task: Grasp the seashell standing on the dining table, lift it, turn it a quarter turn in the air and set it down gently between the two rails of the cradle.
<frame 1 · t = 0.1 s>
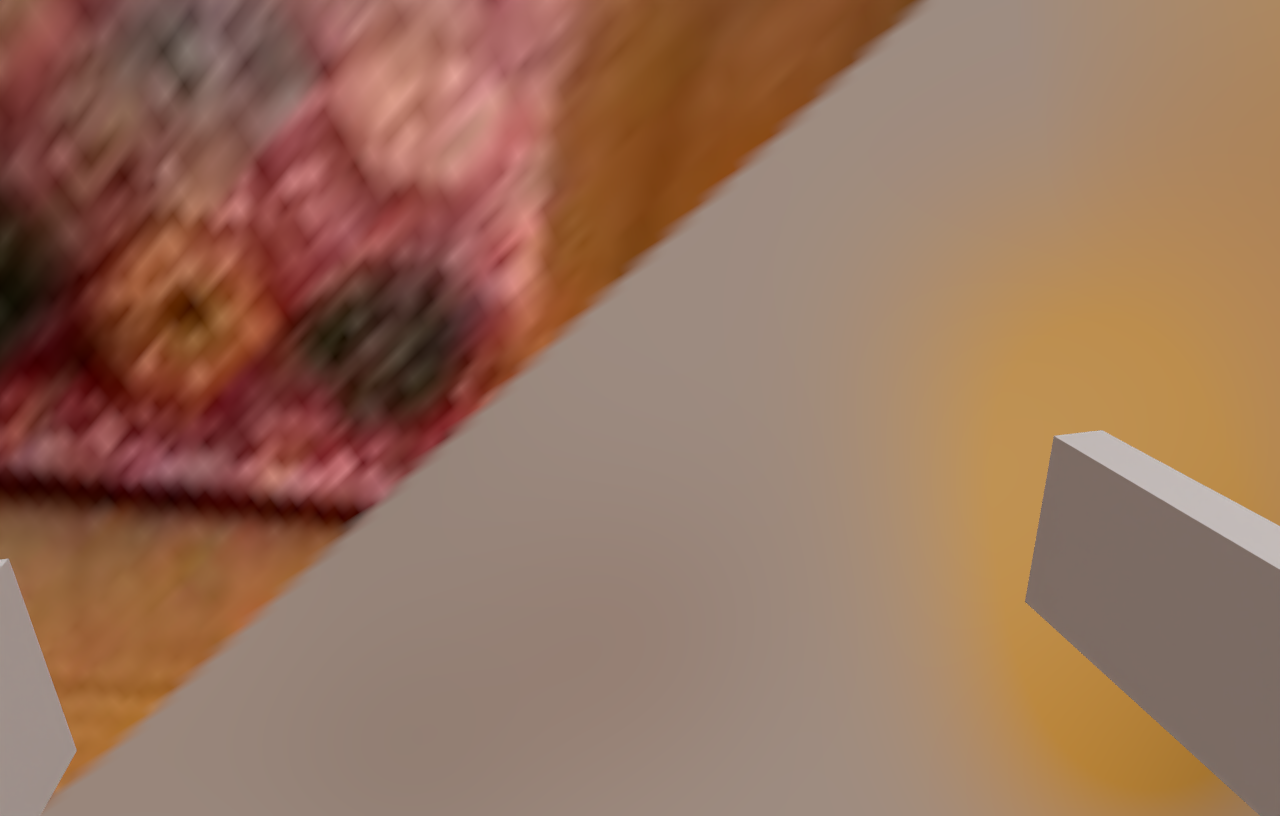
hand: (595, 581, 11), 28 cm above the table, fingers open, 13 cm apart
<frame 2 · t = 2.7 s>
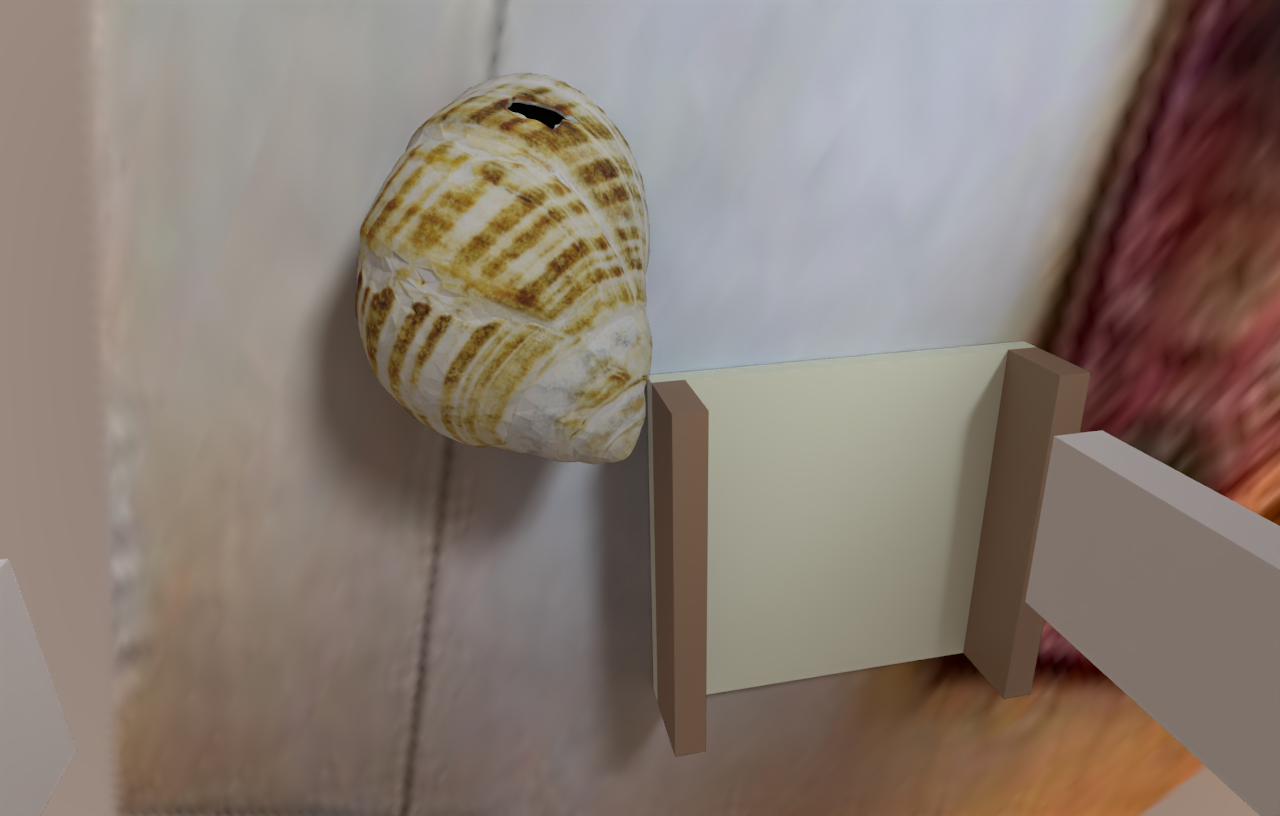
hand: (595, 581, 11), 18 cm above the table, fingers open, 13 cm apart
seashell: (516, 262, 28), on the table
cradle: (831, 521, 34), on the table
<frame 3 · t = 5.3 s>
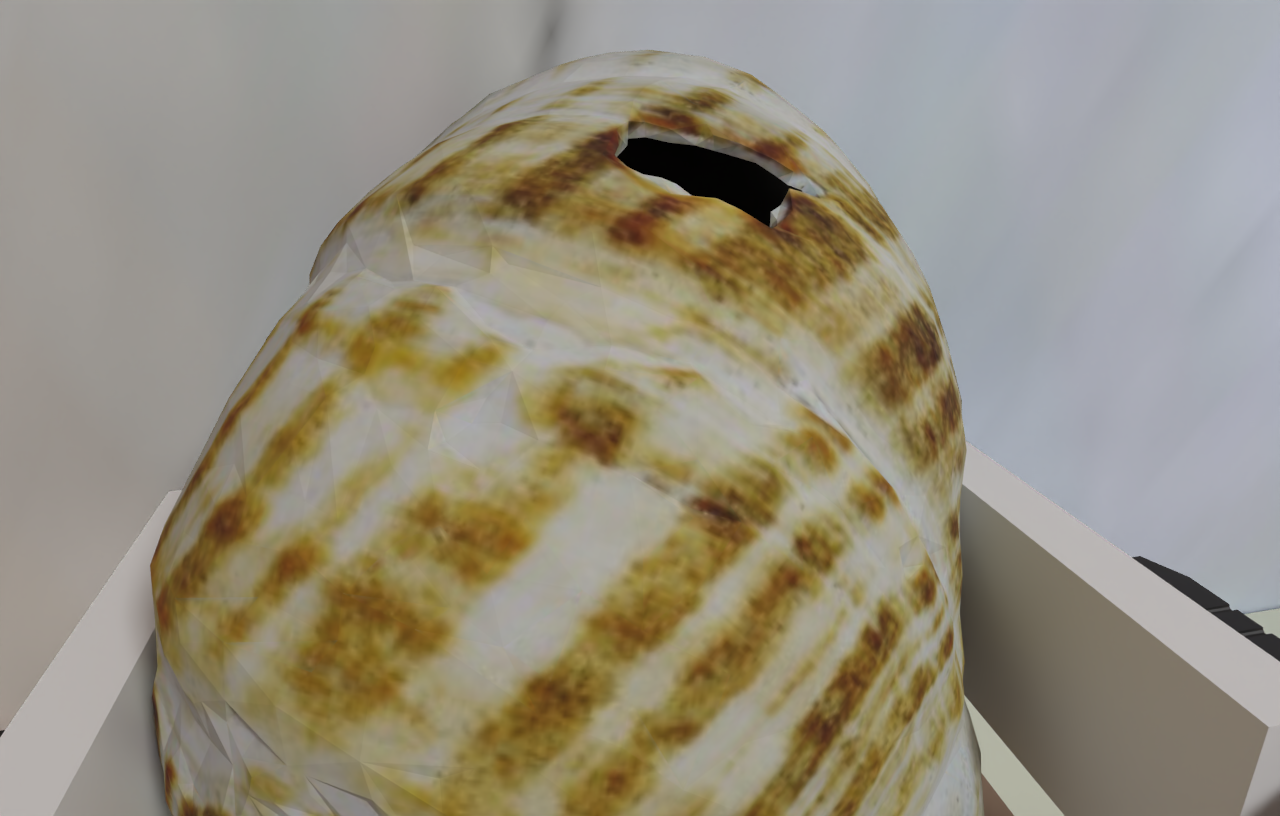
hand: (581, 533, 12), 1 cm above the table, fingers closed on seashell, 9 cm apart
seashell: (592, 478, 13), on the table, touching gripper
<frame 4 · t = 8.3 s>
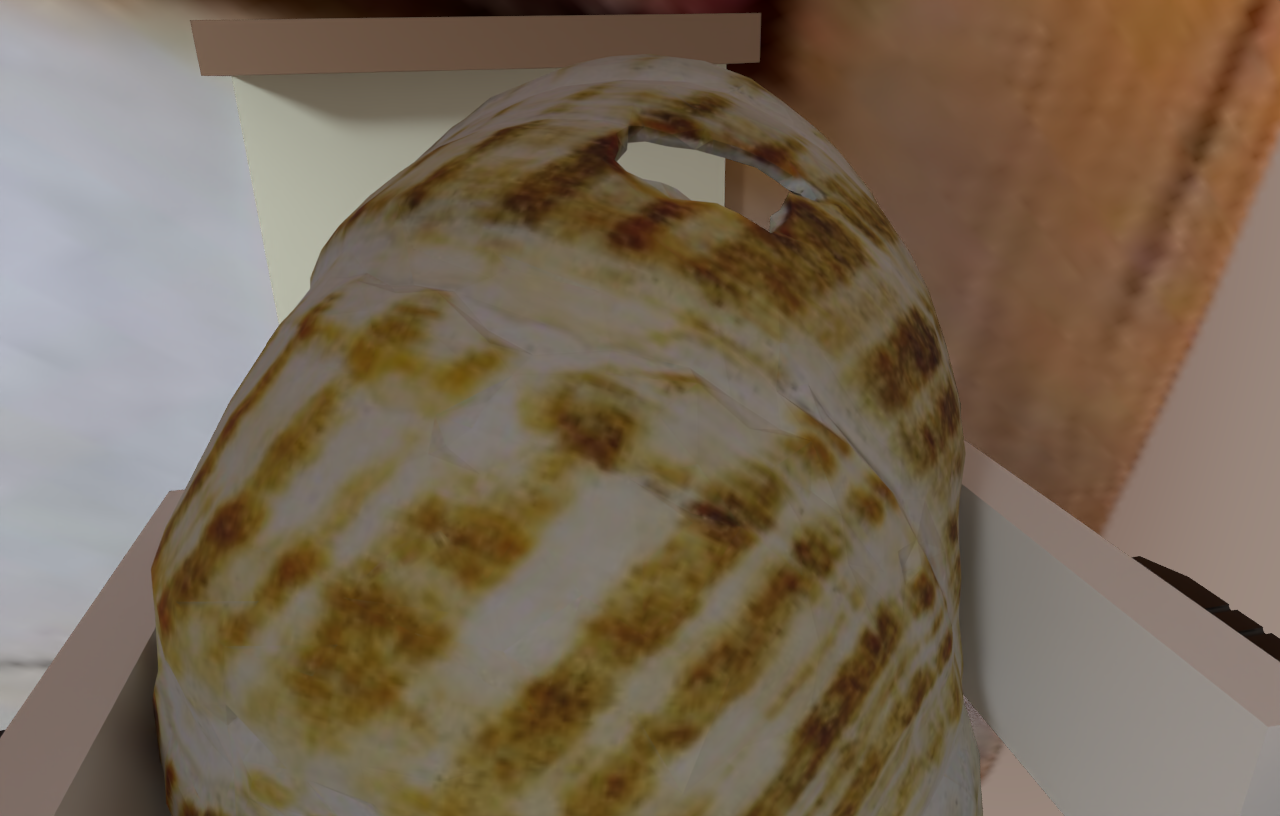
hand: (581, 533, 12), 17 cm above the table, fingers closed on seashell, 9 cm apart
seashell: (592, 480, 13), point 16 cm above the table, touching gripper
cradle: (508, 280, 27), on the table
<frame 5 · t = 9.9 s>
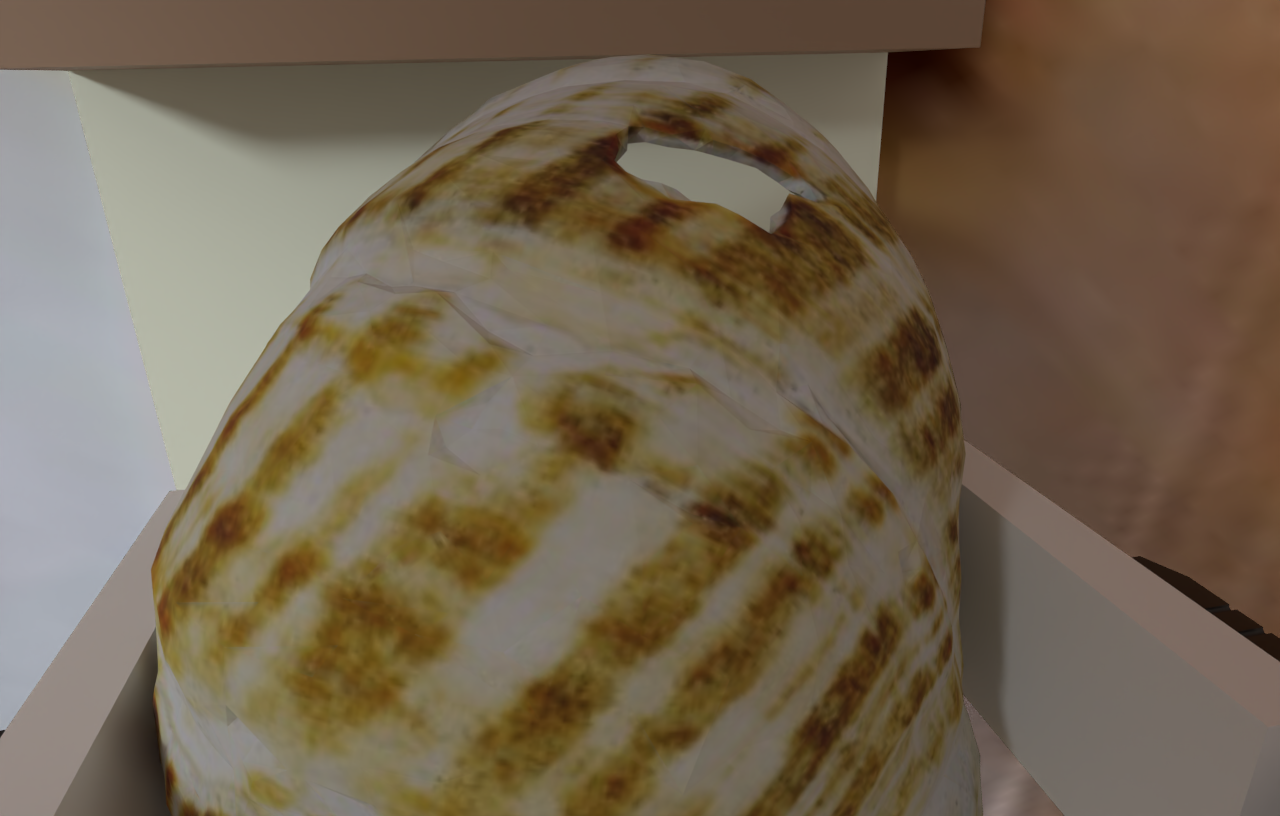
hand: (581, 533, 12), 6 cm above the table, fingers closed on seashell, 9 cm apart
seashell: (592, 480, 13), point 5 cm above the table, touching gripper
cradle: (535, 386, 18), on the table
when the fingers open (3 cm above the table, at t = 11.4 s): seashell drops 2 cm, resting on cradle.
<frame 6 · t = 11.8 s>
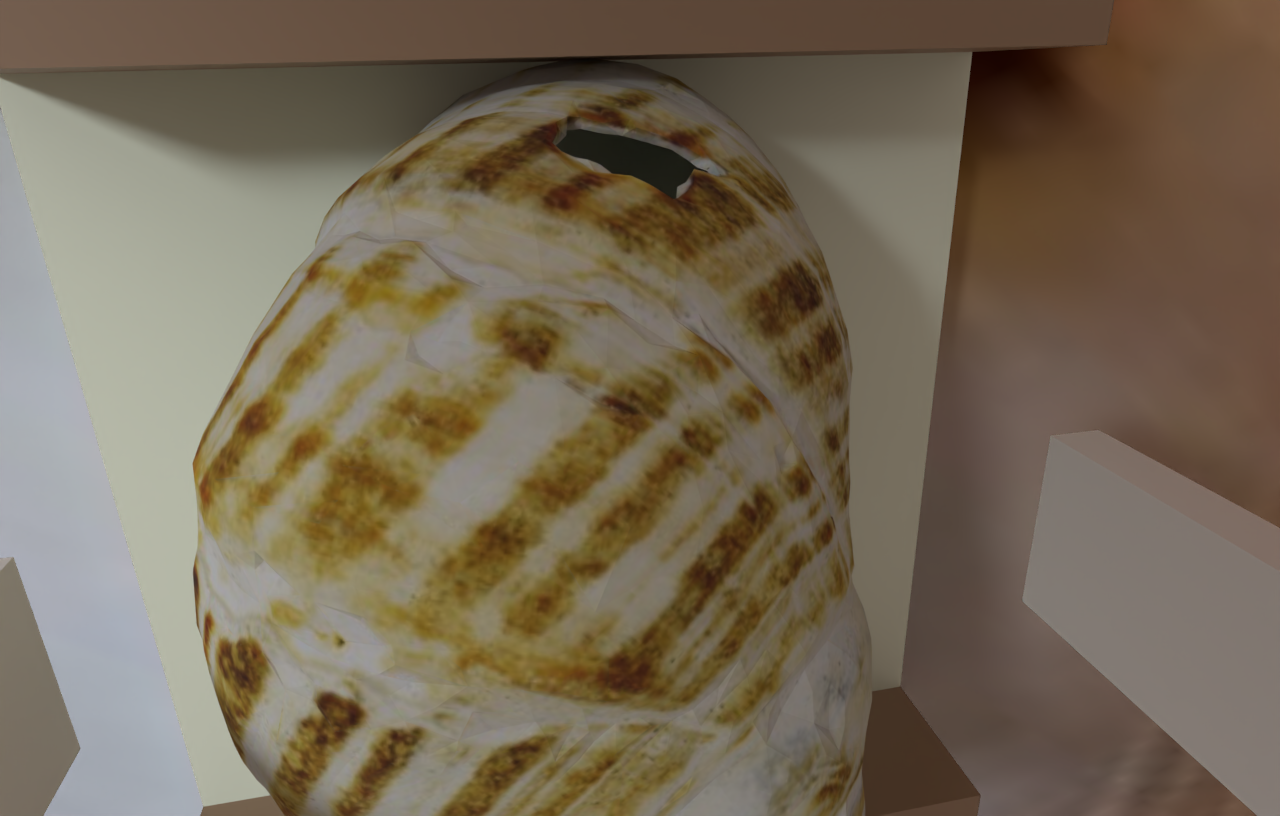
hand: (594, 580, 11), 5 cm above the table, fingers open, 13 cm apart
seashell: (560, 428, 14), point 1 cm above the table, touching cradle
cradle: (554, 438, 15), on the table
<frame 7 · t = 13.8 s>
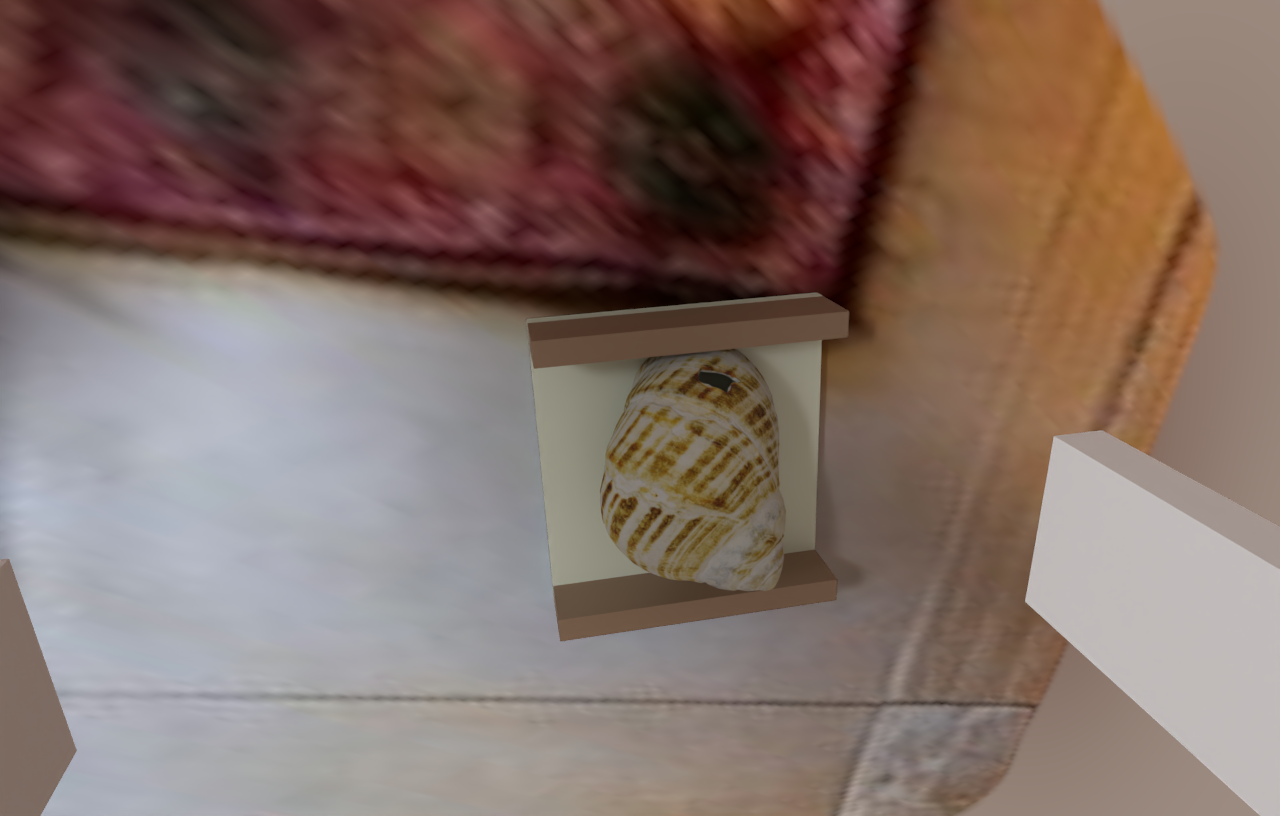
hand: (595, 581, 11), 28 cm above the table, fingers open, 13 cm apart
seashell: (684, 446, 41), point 1 cm above the table, touching cradle
cradle: (680, 450, 42), on the table
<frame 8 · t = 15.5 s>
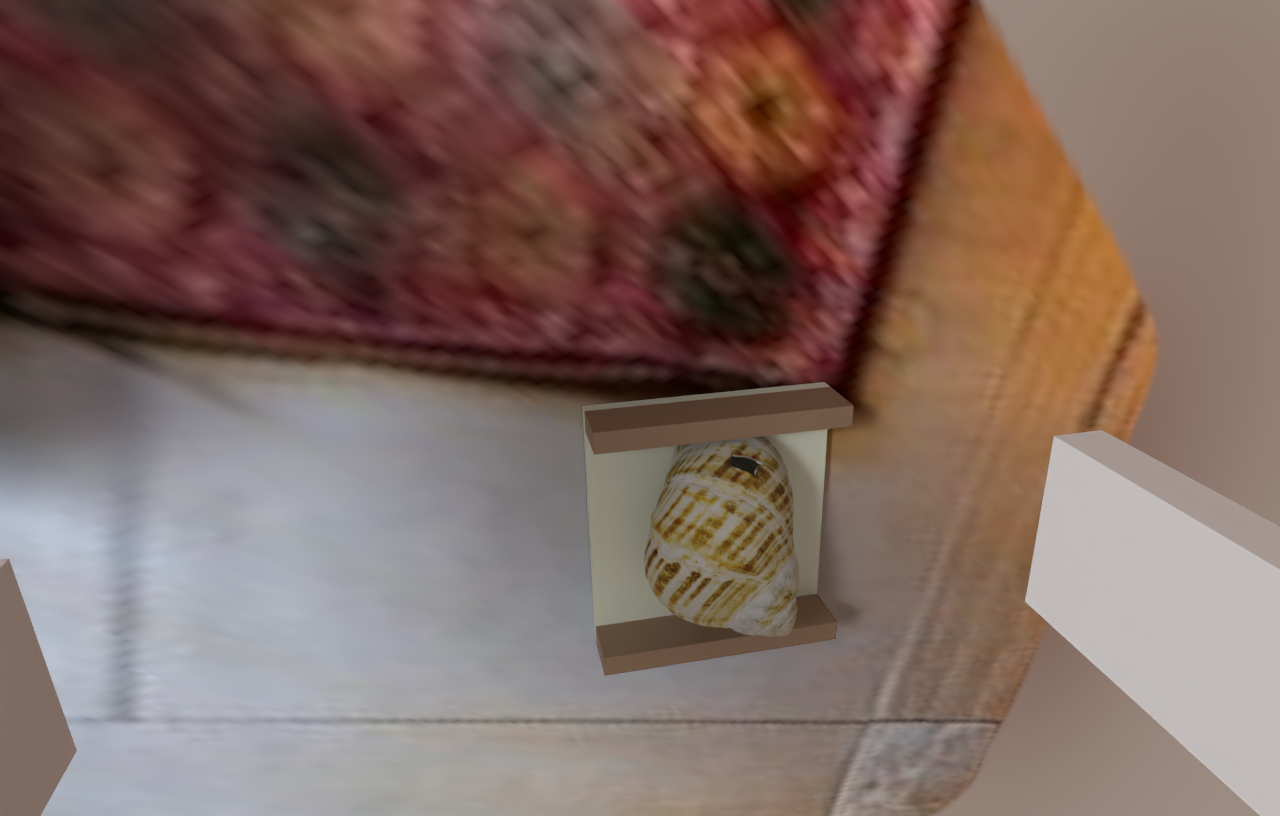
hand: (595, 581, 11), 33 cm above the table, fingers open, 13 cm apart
seashell: (711, 509, 49), point 1 cm above the table, touching cradle
cradle: (705, 512, 49), on the table
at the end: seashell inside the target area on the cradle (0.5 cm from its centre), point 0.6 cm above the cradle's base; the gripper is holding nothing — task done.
